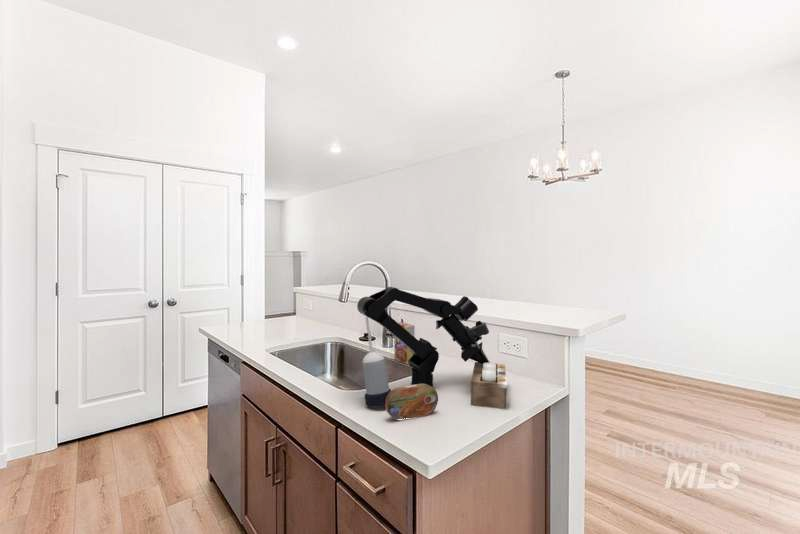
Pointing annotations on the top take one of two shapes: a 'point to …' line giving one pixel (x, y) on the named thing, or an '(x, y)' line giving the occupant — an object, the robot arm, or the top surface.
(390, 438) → the top surface
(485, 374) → the button
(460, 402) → the top surface
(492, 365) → the middle button
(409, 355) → the candy box
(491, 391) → the brown compartment box
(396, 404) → the tin
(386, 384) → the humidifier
